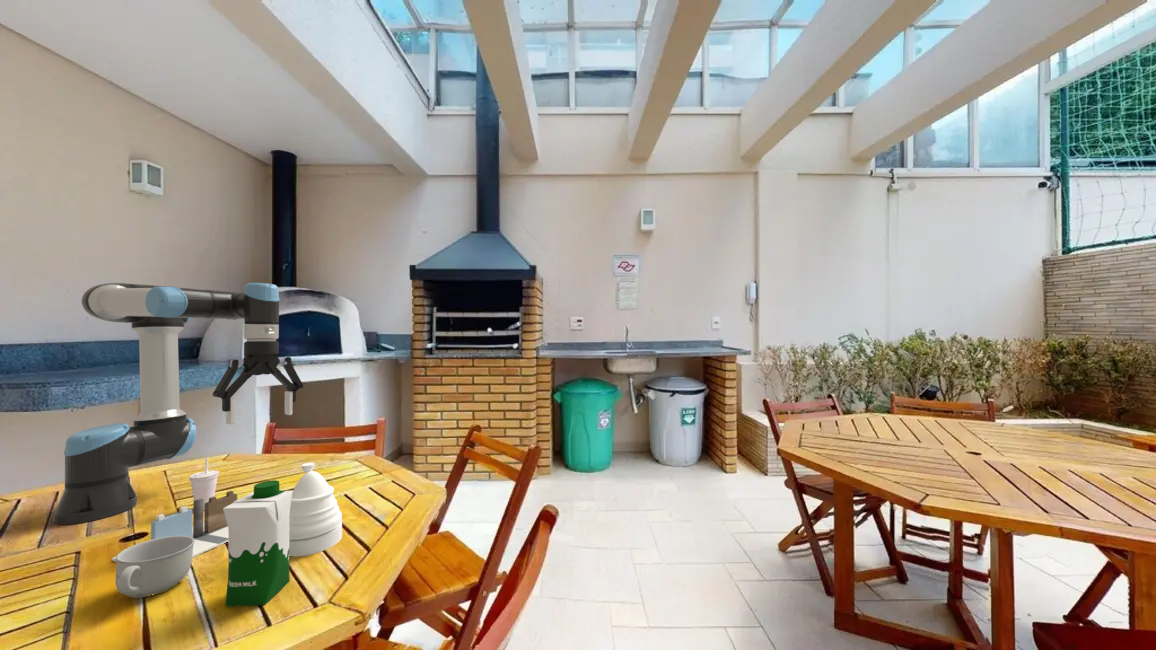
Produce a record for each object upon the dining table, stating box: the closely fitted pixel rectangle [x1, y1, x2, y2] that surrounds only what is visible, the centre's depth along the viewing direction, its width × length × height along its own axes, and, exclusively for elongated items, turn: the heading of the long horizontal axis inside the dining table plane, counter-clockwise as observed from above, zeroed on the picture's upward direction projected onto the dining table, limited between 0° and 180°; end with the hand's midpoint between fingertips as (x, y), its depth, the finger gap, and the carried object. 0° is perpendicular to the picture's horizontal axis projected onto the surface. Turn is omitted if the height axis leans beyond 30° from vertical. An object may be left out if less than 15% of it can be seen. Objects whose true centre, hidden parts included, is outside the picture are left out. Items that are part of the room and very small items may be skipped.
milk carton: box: [223, 479, 293, 607], centre depth 79 cm, size 9×9×20 cm
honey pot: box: [289, 462, 343, 558], centre depth 99 cm, size 13×13×18 cm
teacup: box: [114, 536, 195, 599], centre depth 80 cm, size 14×11×8 cm
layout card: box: [111, 522, 229, 563], centre depth 99 cm, size 16×21×1 cm
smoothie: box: [188, 457, 220, 511], centre depth 119 cm, size 6×6×14 cm
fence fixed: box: [192, 490, 238, 538], centre depth 104 cm, size 2×9×9 cm, turn 163°
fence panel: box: [150, 506, 193, 540], centre depth 96 cm, size 1×7×8 cm, turn 164°
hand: (260, 419), depth 113 cm, fingers open, 13 cm apart
